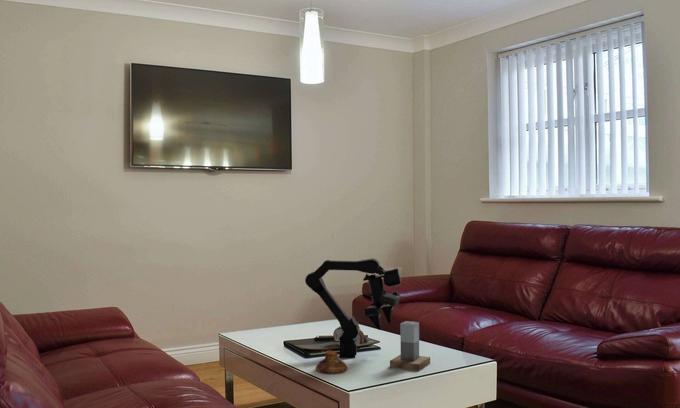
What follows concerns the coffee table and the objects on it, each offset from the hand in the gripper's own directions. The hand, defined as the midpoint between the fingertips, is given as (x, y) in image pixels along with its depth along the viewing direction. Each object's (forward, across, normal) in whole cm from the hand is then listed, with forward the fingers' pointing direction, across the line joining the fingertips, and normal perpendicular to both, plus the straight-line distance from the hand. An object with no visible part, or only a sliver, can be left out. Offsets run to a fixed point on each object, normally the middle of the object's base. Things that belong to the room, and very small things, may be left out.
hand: (384, 326), depth 256 cm
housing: (+11, -9, -13) cm, 19 cm away
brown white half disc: (+10, +7, +24) cm, 27 cm away
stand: (+14, -9, -13) cm, 21 cm away
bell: (+8, -29, +10) cm, 32 cm away
